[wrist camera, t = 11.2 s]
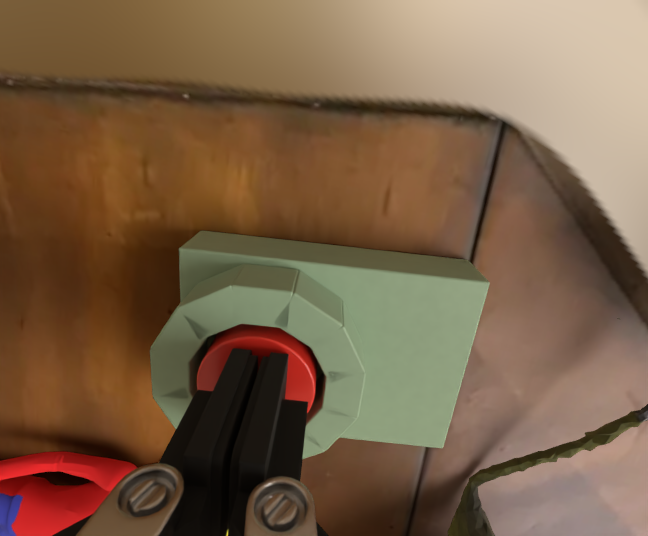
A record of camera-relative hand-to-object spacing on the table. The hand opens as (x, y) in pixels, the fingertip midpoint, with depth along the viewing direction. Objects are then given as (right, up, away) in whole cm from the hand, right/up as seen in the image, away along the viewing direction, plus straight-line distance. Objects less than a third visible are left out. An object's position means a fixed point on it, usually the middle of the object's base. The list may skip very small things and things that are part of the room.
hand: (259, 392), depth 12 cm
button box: (+2, +1, +4) cm, 5 cm away
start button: (0, +1, +2) cm, 2 cm away
